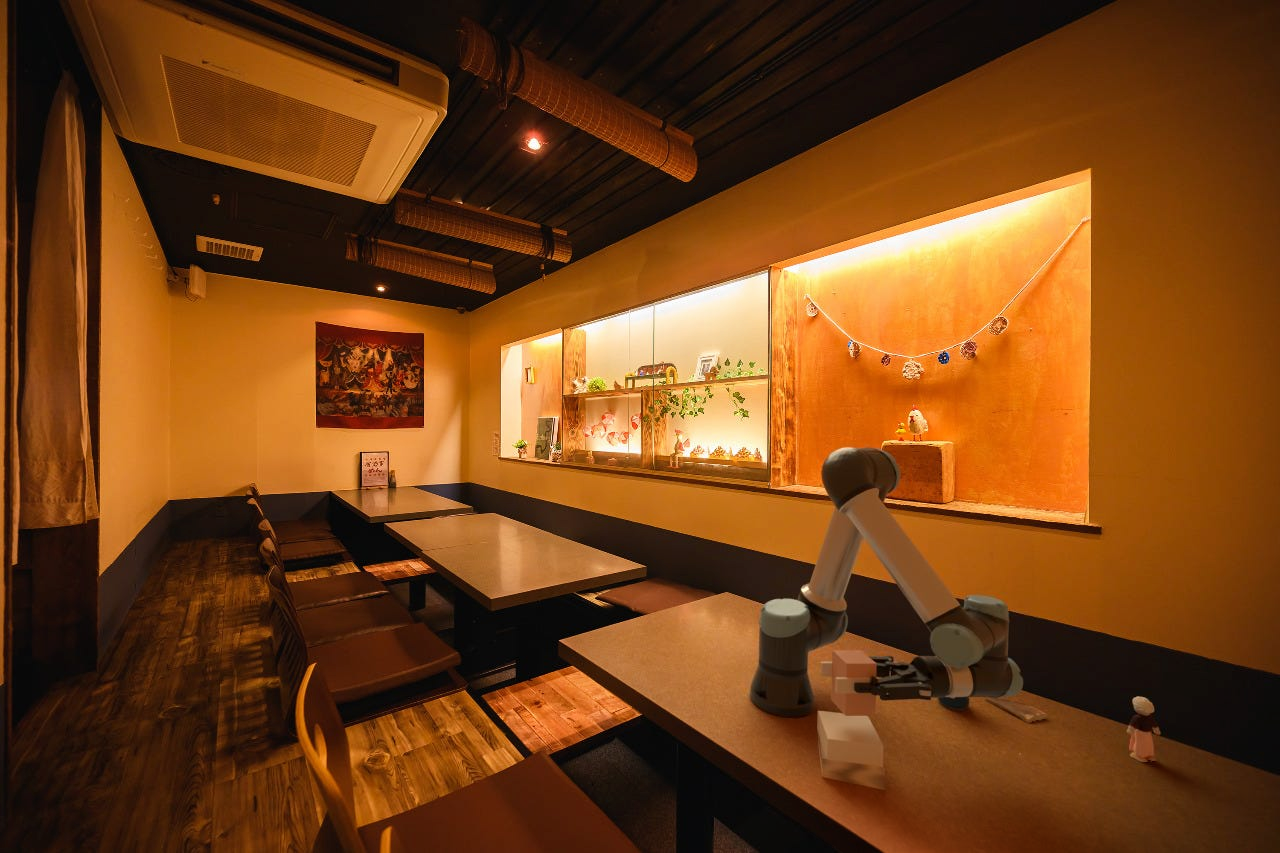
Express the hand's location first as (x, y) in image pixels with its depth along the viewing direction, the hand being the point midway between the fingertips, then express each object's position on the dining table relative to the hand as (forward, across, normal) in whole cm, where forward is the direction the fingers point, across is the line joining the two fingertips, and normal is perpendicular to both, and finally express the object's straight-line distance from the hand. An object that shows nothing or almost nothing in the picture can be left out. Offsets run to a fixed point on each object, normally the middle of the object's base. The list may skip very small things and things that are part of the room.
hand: (828, 676), depth 100 cm
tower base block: (-5, 0, -18) cm, 19 cm away
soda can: (-43, +23, -18) cm, 52 cm away
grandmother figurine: (-69, +1, -18) cm, 72 cm away
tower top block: (-5, 0, -14) cm, 15 cm away
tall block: (-5, 0, -6) cm, 8 cm away
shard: (-56, +19, -18) cm, 62 cm away
